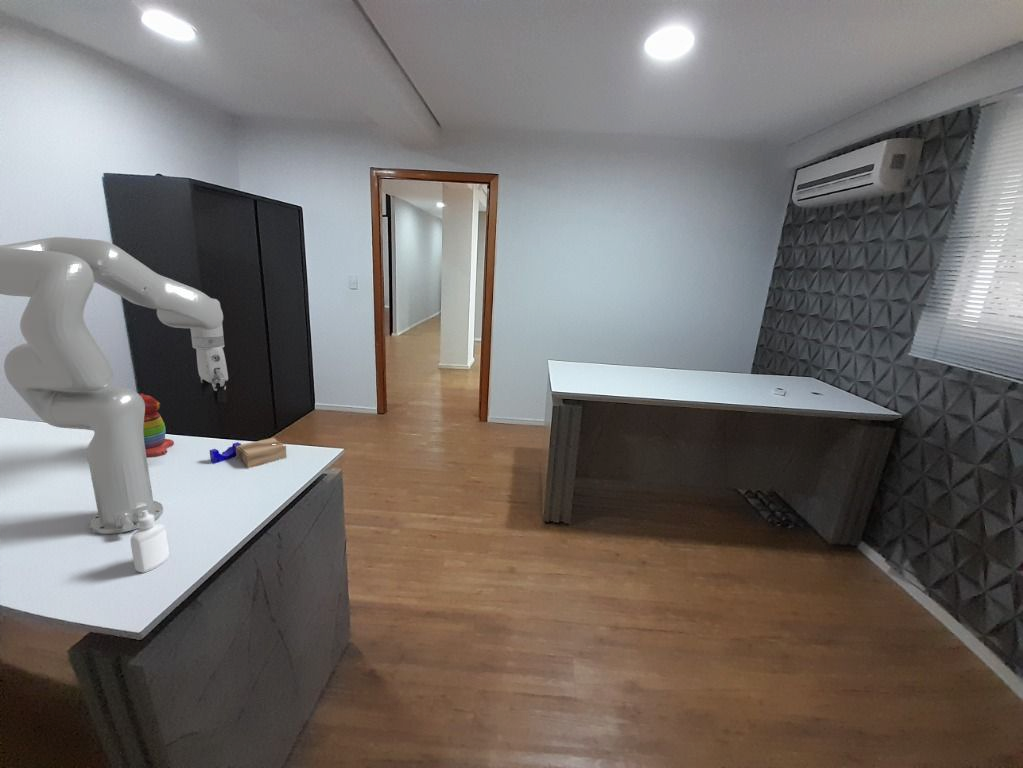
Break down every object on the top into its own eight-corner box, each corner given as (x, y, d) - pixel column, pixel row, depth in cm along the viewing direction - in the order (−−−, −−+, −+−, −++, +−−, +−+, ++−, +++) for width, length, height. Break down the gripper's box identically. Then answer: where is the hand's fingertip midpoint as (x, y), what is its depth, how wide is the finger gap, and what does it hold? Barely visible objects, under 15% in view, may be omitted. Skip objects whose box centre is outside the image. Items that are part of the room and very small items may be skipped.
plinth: (286, 457, 135) (285, 445, 134) (248, 468, 127) (246, 455, 126) (274, 448, 141) (273, 436, 140) (236, 458, 132) (235, 445, 131)
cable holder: (236, 452, 137) (235, 441, 136) (242, 455, 135) (241, 443, 134) (208, 461, 130) (206, 448, 129) (214, 464, 128) (212, 452, 127)
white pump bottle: (173, 563, 87) (165, 510, 84) (137, 576, 83) (127, 521, 80) (168, 552, 90) (160, 501, 87) (132, 565, 86) (123, 511, 83)
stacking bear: (164, 456, 130) (156, 400, 126) (121, 459, 126) (112, 401, 122) (176, 442, 140) (169, 389, 135) (136, 444, 136) (128, 390, 131)
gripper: (234, 345, 121) (240, 403, 126) (212, 336, 131) (218, 390, 136) (203, 348, 115) (210, 408, 120) (183, 338, 126) (189, 394, 130)
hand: (214, 398), depth 128 cm, fingers open, 9 cm apart
